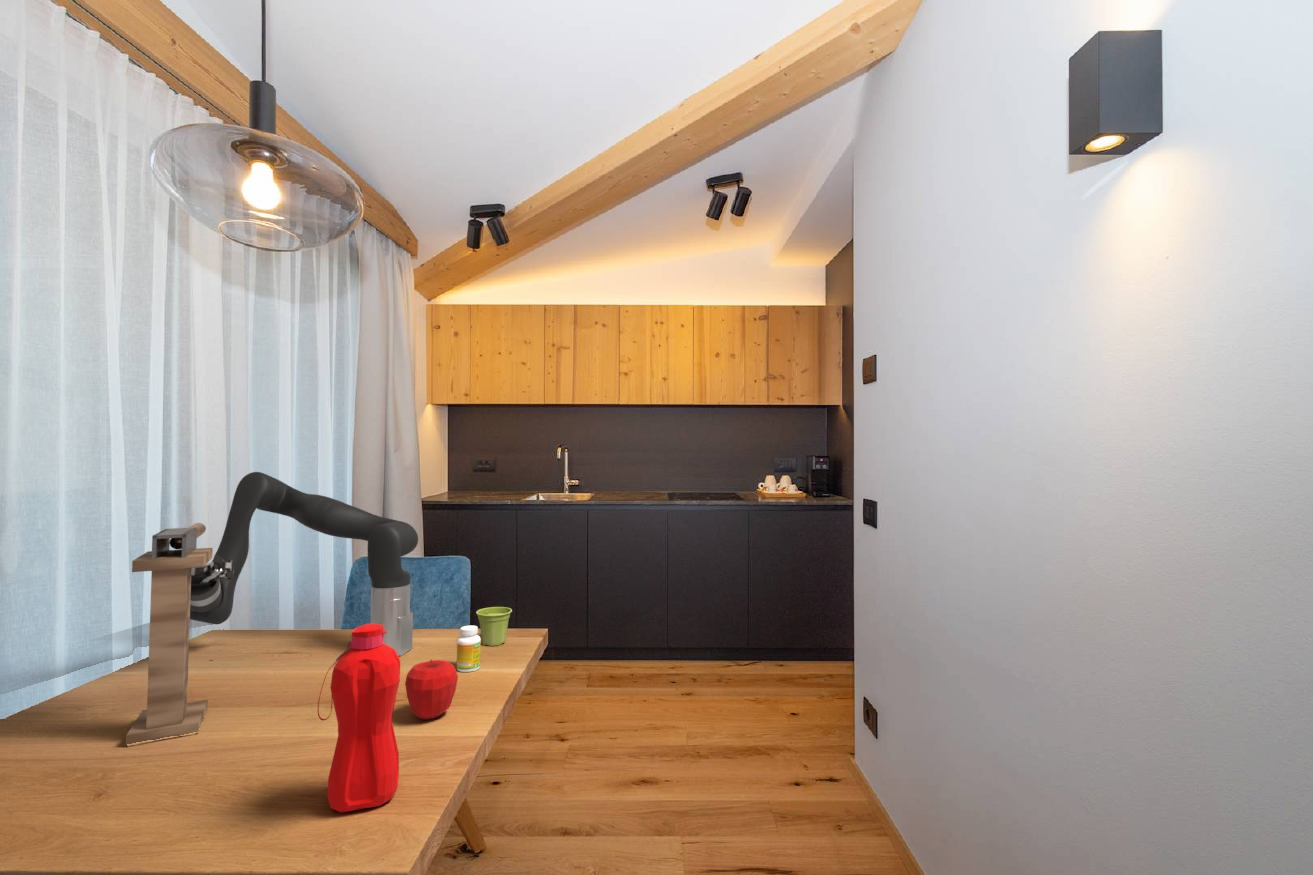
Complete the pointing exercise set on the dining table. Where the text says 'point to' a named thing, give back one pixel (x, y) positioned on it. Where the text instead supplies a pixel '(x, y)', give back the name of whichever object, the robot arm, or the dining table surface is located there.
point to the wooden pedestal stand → (169, 647)
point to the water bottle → (364, 722)
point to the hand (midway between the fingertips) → (191, 560)
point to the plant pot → (493, 624)
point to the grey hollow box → (163, 538)
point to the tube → (177, 542)
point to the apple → (431, 688)
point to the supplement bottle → (468, 649)
